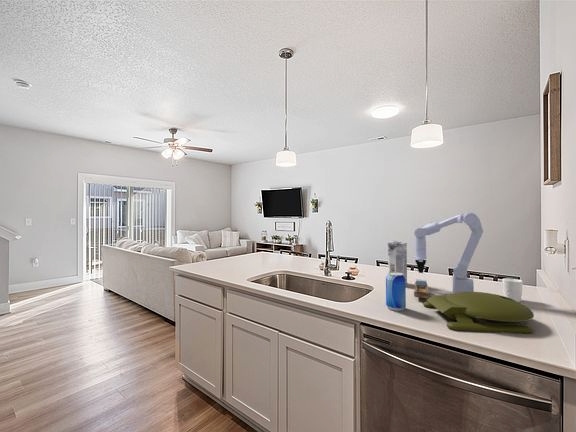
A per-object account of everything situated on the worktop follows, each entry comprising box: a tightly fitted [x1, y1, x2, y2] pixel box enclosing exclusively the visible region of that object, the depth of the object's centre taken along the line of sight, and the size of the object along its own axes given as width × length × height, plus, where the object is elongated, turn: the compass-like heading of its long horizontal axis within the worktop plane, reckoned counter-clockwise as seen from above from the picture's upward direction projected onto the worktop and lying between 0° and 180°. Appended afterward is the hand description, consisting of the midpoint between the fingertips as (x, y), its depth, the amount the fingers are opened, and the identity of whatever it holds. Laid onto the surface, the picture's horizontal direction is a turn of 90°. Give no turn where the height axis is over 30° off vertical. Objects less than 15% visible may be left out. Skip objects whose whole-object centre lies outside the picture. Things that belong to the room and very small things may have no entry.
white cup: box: [501, 277, 523, 303], centre depth 139 cm, size 8×8×10 cm
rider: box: [415, 278, 428, 288], centre depth 152 cm, size 5×4×4 cm
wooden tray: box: [413, 281, 430, 299], centre depth 147 cm, size 7×21×5 cm, turn 155°
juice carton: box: [387, 240, 408, 284], centre depth 174 cm, size 9×10×27 cm
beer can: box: [385, 272, 407, 312], centre depth 128 cm, size 8×8×16 cm
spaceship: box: [422, 291, 535, 335], centre depth 115 cm, size 35×31×10 cm
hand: (420, 272), depth 159 cm, fingers closed
